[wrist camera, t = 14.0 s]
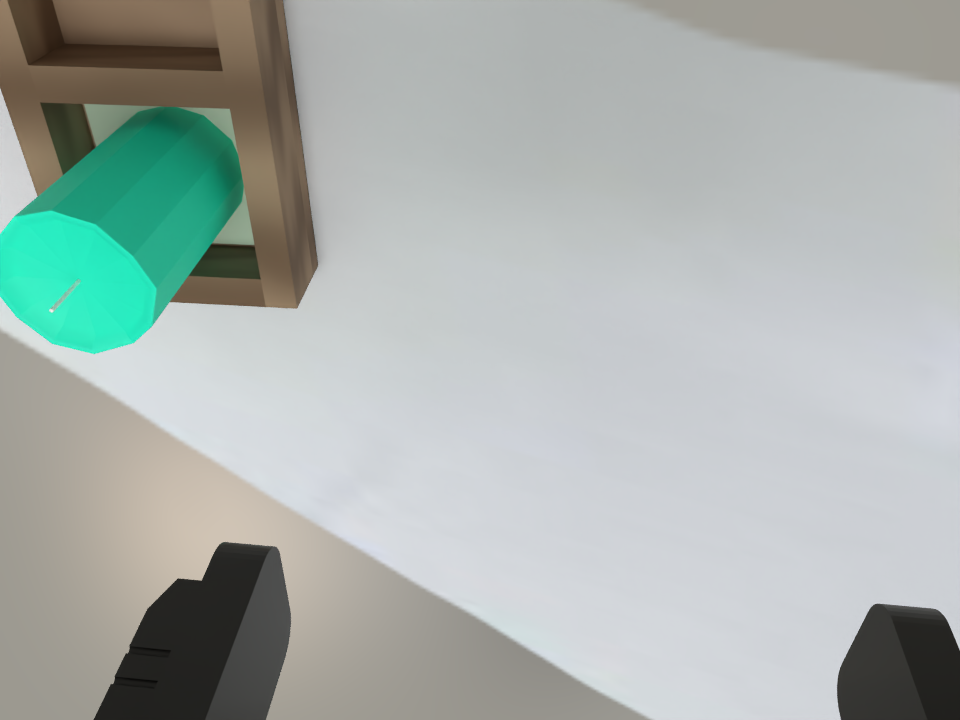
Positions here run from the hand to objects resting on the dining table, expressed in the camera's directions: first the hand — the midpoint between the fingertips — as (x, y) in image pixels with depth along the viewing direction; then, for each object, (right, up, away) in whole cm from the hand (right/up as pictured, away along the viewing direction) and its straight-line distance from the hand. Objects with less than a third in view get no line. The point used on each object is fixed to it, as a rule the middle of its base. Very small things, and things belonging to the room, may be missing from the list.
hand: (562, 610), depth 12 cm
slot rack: (-15, +17, +25) cm, 34 cm away
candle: (-15, +12, +27) cm, 33 cm away
